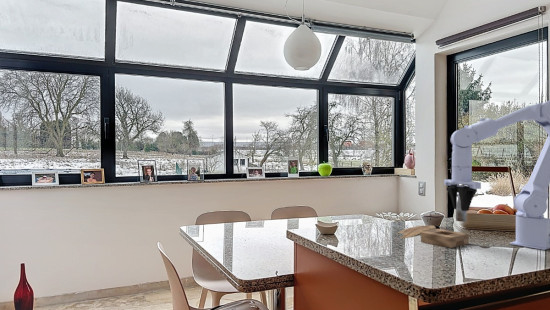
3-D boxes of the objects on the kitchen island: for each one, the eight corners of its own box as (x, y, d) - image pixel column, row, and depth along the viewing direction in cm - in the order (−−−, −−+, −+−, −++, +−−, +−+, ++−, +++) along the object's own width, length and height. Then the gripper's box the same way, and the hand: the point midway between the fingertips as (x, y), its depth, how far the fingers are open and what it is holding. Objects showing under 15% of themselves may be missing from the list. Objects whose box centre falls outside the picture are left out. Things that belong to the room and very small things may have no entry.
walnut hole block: (468, 243, 124) (468, 233, 124) (450, 247, 118) (450, 237, 118) (438, 238, 132) (439, 228, 132) (420, 241, 126) (420, 232, 126)
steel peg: (468, 221, 126) (468, 192, 126) (463, 221, 125) (463, 193, 125) (459, 219, 129) (459, 191, 129) (454, 220, 127) (454, 192, 127)
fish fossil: (416, 241, 129) (415, 237, 129) (385, 239, 135) (385, 236, 135) (439, 228, 149) (439, 225, 149) (412, 227, 155) (412, 224, 155)
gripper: (436, 166, 133) (435, 207, 133) (466, 167, 119) (466, 213, 119) (454, 166, 134) (454, 206, 134) (487, 167, 120) (486, 213, 120)
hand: (461, 209), depth 127 cm, fingers closed on steel peg, 3 cm apart
